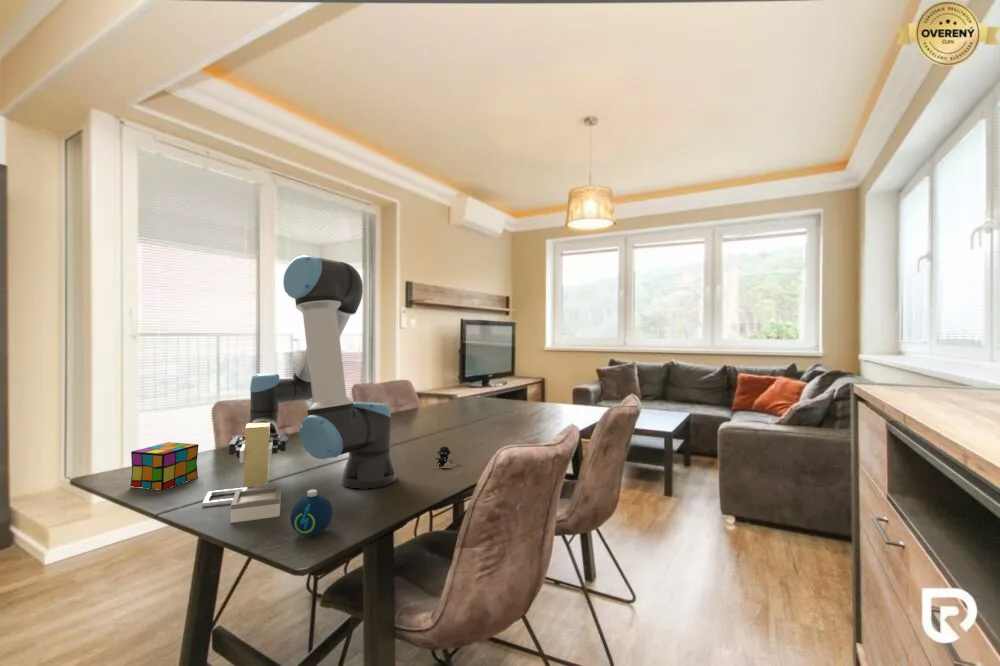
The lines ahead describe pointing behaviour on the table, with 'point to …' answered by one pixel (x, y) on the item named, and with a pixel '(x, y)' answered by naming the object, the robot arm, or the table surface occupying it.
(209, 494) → the jamb socket
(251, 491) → the white square tray
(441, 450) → the toy figurine
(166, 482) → the toy
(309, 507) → the christmas ornament
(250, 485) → the block
